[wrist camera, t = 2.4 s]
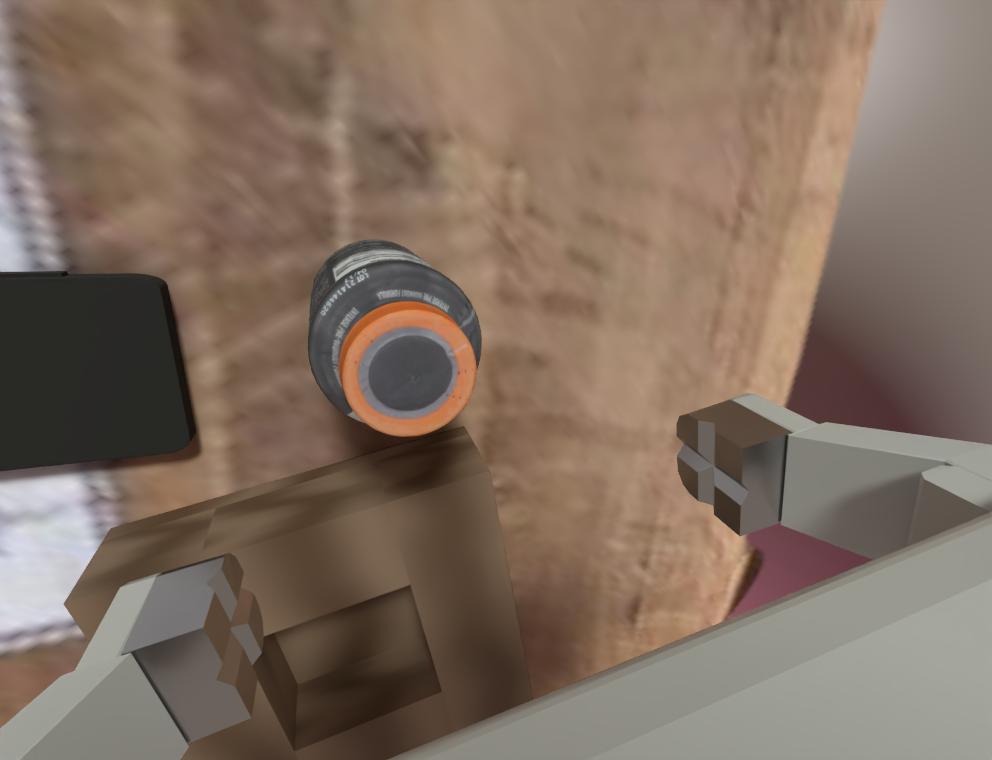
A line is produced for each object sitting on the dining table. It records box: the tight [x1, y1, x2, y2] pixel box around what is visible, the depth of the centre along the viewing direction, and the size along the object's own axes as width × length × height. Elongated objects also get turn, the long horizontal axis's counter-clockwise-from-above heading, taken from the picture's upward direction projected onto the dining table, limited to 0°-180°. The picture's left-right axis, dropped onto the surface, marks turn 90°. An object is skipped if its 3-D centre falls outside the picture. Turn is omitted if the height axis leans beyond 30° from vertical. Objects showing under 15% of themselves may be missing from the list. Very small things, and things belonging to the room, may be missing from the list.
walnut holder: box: [64, 426, 533, 760], centre depth 28 cm, size 18×18×5 cm
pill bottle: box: [308, 240, 482, 437], centre depth 20 cm, size 6×6×11 cm
